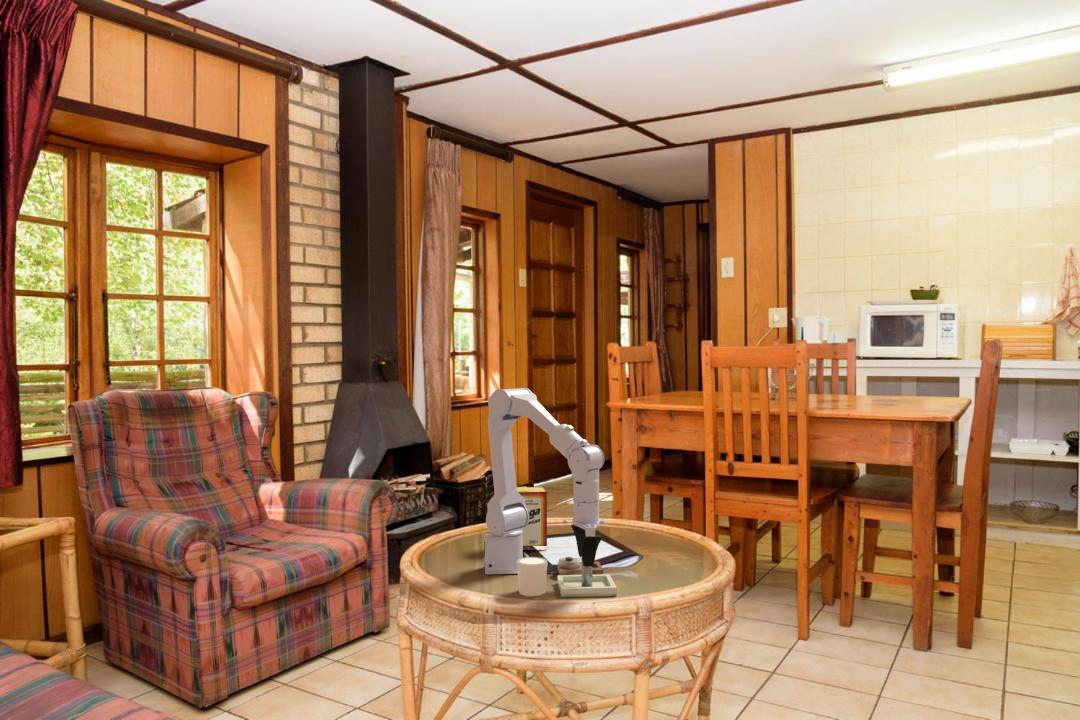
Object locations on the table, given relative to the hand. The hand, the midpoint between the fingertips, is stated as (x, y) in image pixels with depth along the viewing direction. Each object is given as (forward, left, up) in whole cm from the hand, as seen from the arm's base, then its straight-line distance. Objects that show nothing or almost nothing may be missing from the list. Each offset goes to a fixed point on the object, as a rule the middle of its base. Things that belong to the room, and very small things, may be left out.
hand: (586, 561), depth 173 cm
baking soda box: (-11, +37, -7) cm, 40 cm away
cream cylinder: (-12, -1, -7) cm, 14 cm away
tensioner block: (0, +11, -6) cm, 13 cm away
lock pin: (0, 0, -6) cm, 6 cm away
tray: (0, 0, -6) cm, 6 cm away
